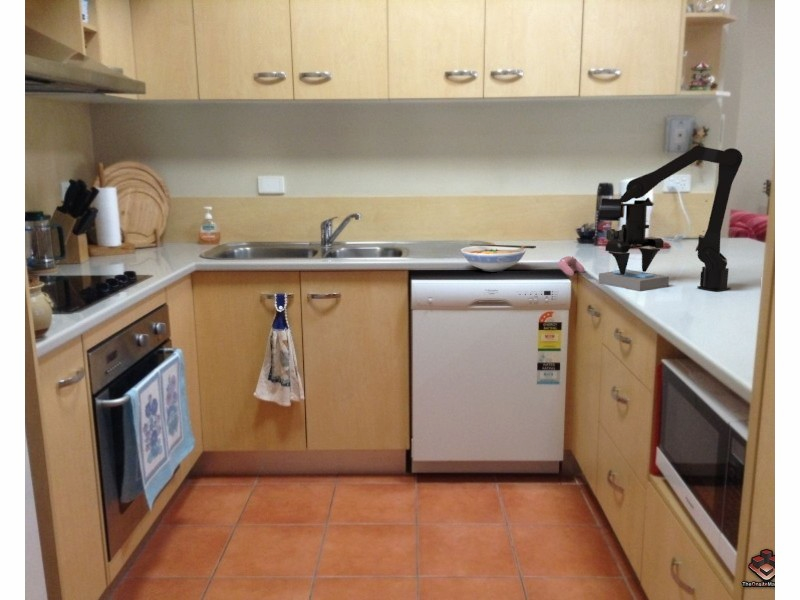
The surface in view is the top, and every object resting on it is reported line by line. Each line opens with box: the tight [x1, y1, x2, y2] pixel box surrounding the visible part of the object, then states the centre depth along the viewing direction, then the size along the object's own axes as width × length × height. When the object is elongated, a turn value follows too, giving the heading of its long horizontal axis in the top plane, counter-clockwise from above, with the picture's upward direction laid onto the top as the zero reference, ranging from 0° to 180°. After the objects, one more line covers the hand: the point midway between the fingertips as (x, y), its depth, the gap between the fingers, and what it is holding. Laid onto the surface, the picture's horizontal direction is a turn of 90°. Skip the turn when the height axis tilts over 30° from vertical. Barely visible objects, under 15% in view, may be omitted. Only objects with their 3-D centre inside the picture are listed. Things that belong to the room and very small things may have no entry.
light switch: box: [598, 268, 670, 292], centre depth 200 cm, size 16×12×3 cm
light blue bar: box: [613, 269, 654, 278], centre depth 200 cm, size 4×12×4 cm, turn 29°
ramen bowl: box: [460, 243, 537, 273], centre depth 232 cm, size 25×23×8 cm
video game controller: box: [557, 255, 586, 277], centre depth 221 cm, size 10×5×7 cm, turn 141°
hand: (633, 273), depth 200 cm, fingers open, 9 cm apart
